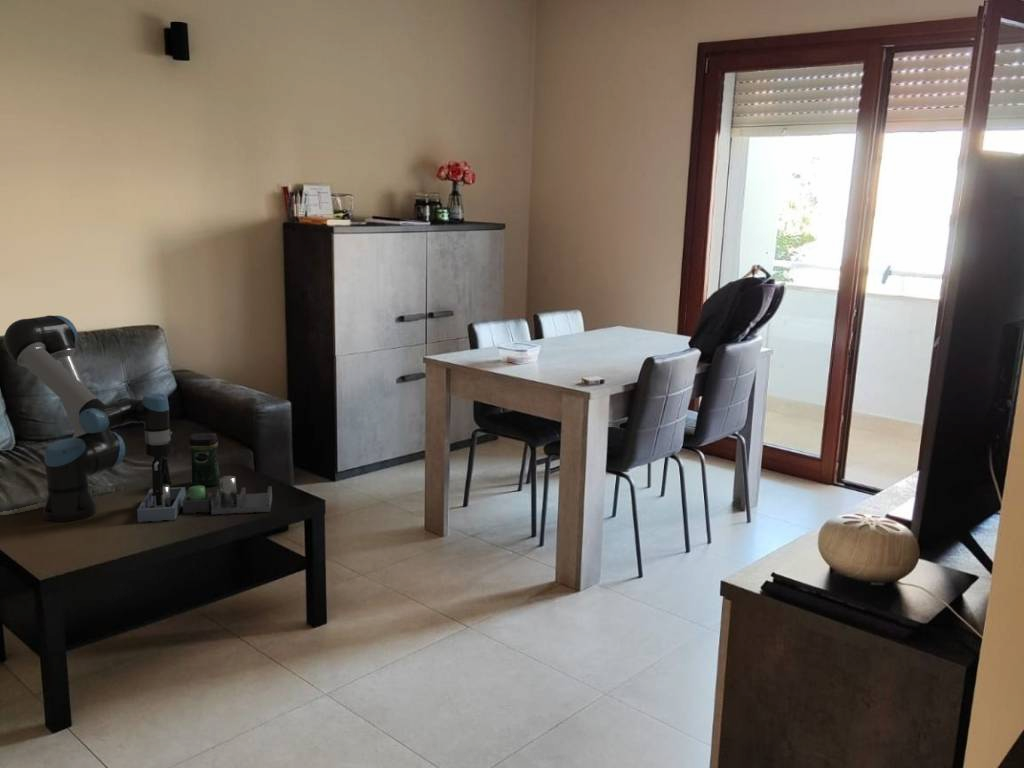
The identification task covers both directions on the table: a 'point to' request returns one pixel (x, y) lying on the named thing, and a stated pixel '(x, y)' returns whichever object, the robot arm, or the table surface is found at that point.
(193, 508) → the button housing
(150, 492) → the tote
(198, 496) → the button
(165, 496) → the billet
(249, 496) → the pallet
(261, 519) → the table surface
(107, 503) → the table surface
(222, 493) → the seated billet
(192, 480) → the coffee jar
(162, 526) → the table surface
